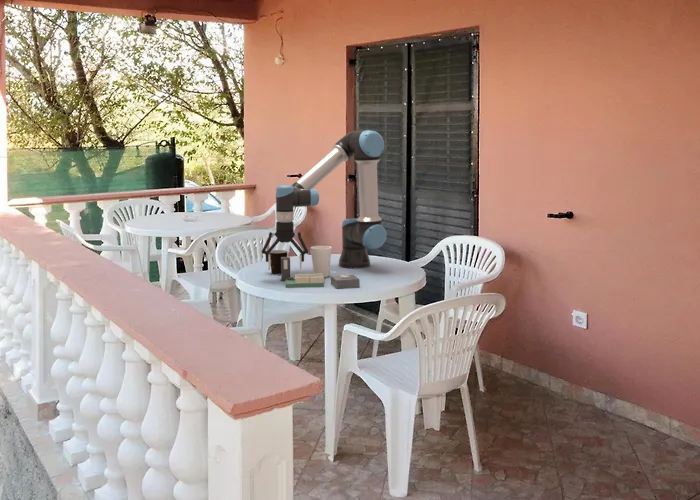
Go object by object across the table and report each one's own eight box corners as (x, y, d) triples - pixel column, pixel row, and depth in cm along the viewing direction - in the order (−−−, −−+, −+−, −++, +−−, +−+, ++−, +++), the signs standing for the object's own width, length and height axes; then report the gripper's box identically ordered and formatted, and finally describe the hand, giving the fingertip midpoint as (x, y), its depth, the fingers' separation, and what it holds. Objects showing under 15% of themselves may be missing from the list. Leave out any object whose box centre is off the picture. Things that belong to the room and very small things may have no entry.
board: (322, 281, 329) (322, 276, 328) (323, 286, 318) (323, 281, 318) (285, 282, 327) (285, 276, 327) (285, 287, 317) (285, 282, 316)
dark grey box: (353, 282, 326) (353, 273, 325) (359, 287, 317) (359, 277, 316) (330, 283, 324) (330, 274, 323) (336, 288, 314) (336, 279, 313)
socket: (322, 279, 326) (322, 273, 325) (323, 282, 318) (323, 277, 318) (295, 279, 325) (295, 274, 324) (295, 283, 317) (295, 277, 317)
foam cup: (324, 278, 335) (323, 249, 333) (307, 276, 340) (306, 248, 337) (335, 275, 343) (335, 246, 340) (318, 273, 347) (318, 245, 345)
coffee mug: (284, 275, 343) (284, 253, 341) (266, 274, 345) (266, 252, 343) (291, 270, 354) (291, 249, 352) (274, 269, 356) (273, 248, 354)
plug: (290, 279, 334) (290, 256, 332) (290, 281, 329) (290, 258, 328) (281, 279, 334) (280, 257, 332) (281, 281, 329) (280, 258, 327)
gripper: (255, 222, 323) (256, 270, 326) (313, 222, 325) (313, 270, 328) (256, 220, 330) (256, 267, 334) (313, 220, 332) (313, 267, 336)
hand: (285, 269), depth 331 cm, fingers open, 13 cm apart
